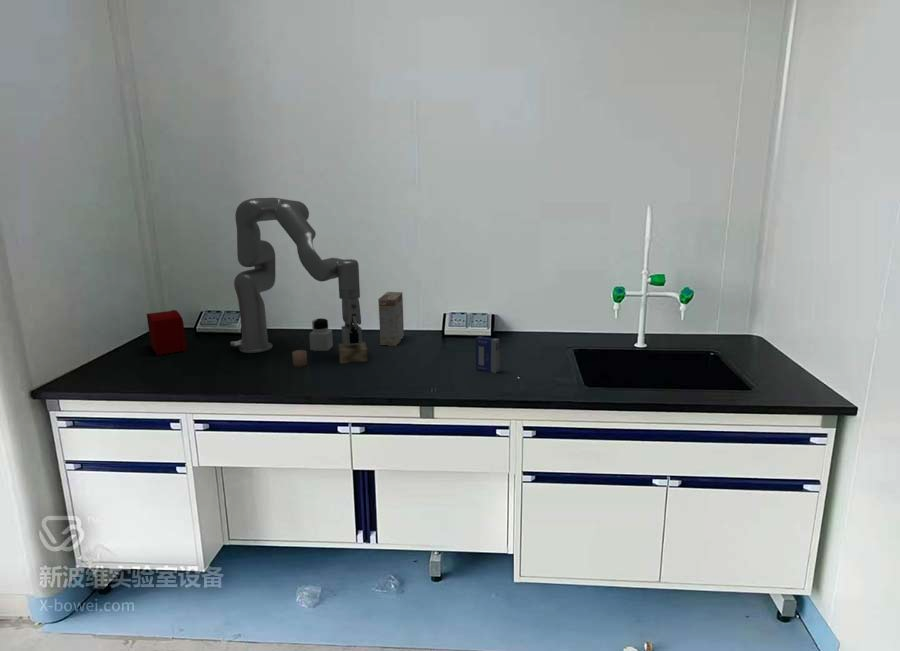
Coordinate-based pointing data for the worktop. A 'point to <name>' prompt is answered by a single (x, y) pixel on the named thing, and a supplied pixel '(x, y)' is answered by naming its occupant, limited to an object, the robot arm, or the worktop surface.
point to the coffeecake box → (391, 318)
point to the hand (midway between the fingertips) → (352, 340)
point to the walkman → (487, 354)
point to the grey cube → (347, 338)
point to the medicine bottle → (320, 335)
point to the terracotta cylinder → (299, 358)
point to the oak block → (353, 353)
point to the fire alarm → (166, 332)
